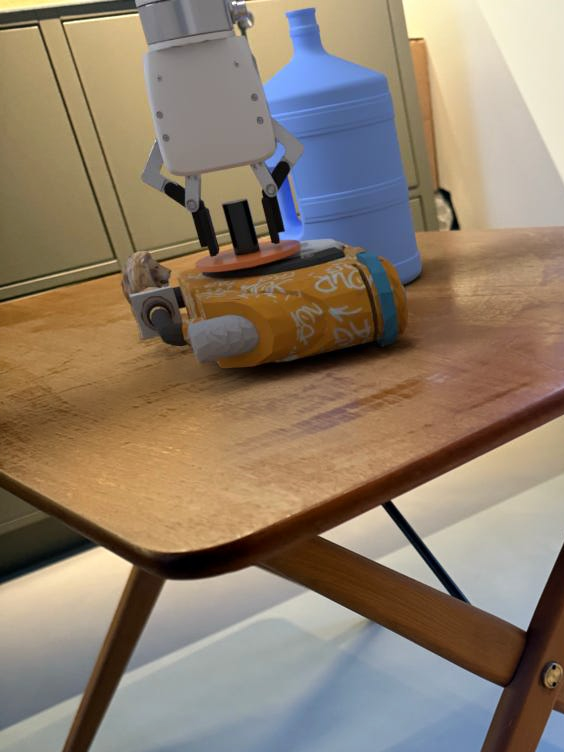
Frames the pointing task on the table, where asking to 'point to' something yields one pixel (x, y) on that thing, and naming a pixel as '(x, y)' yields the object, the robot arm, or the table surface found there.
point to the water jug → (341, 152)
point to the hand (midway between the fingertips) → (245, 245)
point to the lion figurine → (142, 276)
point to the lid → (245, 243)
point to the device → (279, 307)
